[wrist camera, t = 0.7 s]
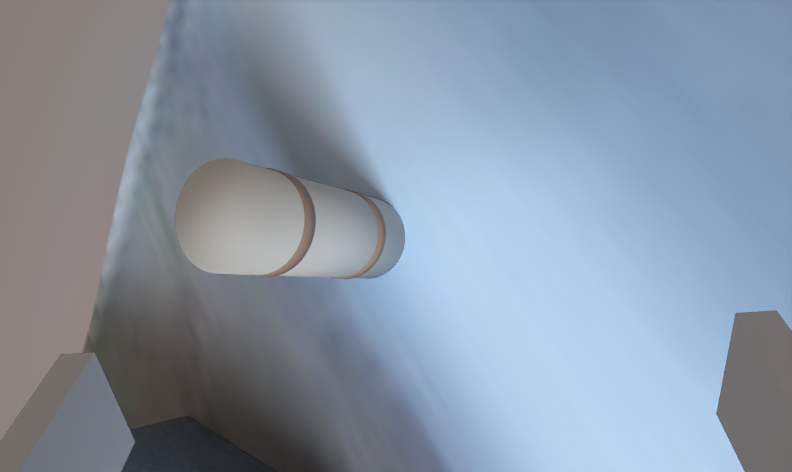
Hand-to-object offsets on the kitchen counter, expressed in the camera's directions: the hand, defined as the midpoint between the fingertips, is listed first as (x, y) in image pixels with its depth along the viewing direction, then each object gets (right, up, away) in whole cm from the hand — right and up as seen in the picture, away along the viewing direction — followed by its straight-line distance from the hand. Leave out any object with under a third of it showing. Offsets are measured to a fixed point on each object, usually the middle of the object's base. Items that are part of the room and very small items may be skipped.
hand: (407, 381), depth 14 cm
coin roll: (-2, +3, +24) cm, 24 cm away
